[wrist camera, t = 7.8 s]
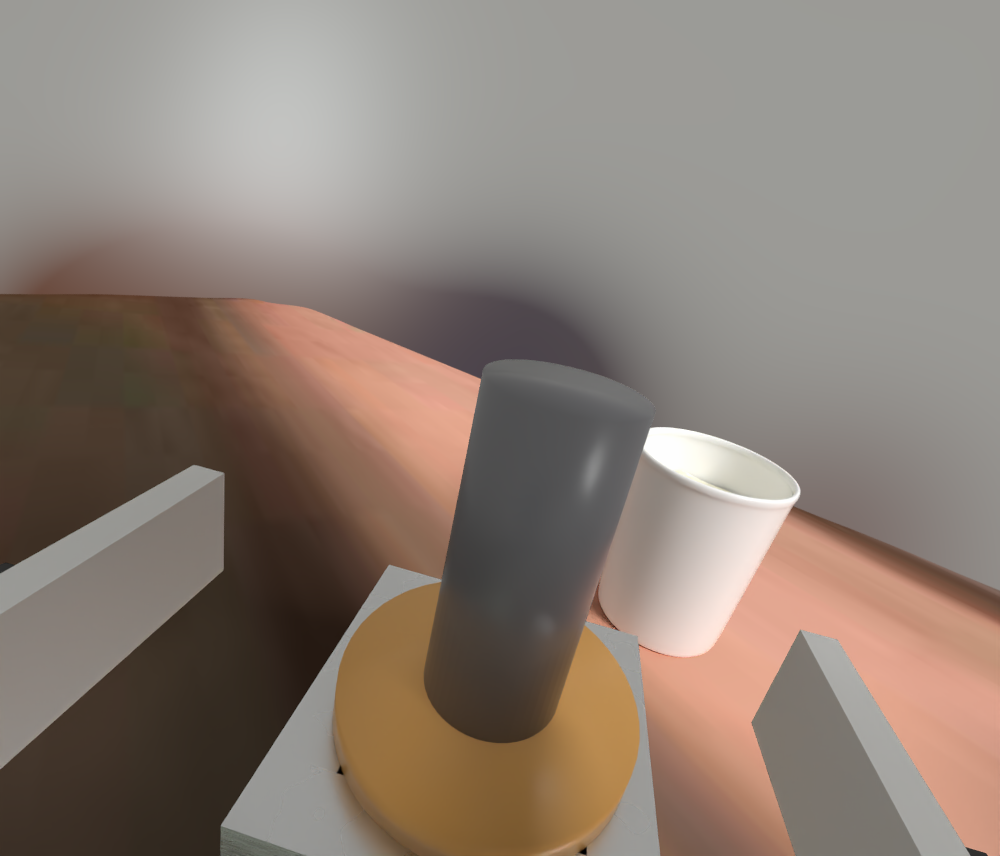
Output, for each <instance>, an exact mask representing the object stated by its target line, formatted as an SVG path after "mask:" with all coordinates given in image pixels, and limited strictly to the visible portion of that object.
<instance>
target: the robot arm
mask: <svg viewBox="0 0 1000 856" xmlns="http://www.w3.org/2000/svg"><path fill="white" fill-rule="evenodd" d="M223 570H224V473H222V472H218V471H215V470H211V469H207V468H204V467H200V466H196V465H193V466H191V467H189V468H188V469H186V470H184V471H182V472H180V473H179V474H177V475H175V476H173V477H172V478H170V479H168V480H166V481H164V482H163V483H161V484H159V485H157V486H155V487H154V488H152V489H150V490H148V491H147V492H145V493H143V494H141V495H139V496H138V497H136V498H134V499H132V500H131V501H129V502H127V503H125V504H123V505H122V506H120V507H118V508H116V509H114V510H113V511H111V512H109V513H107V514H106V515H104V516H102V517H100V518H98V519H97V520H95V521H93V522H91V523H90V524H88V525H86V526H84V527H82V528H81V529H79V530H77V531H75V532H74V533H72V534H70V535H68V536H66V537H65V538H63V539H61V540H59V541H57V542H56V543H54V544H52V545H50V546H49V547H47V548H45V549H43V550H41V551H40V552H38V553H36V554H34V555H33V556H31V557H29V558H27V559H25V560H24V561H22V562H20V563H18V564H16V565H12V564H9V563H4V564H1V565H0V769H1V768H2V767H3V766H4V765H6V764H7V763H8V762H9V761H10V760H11V759H12V758H13V757H15V756H16V755H17V754H18V753H19V752H20V751H21V750H22V749H23V748H25V747H26V746H27V745H28V744H29V743H30V742H31V741H32V740H34V739H35V738H36V737H37V736H38V735H39V734H40V733H41V732H43V731H44V730H45V729H46V728H47V727H48V726H49V725H50V724H52V723H53V722H54V721H55V720H56V719H57V718H58V717H59V716H60V715H62V714H63V713H64V712H65V711H66V710H67V709H68V708H69V707H71V706H72V705H73V704H74V703H75V702H76V701H77V700H78V699H80V698H81V697H82V696H83V695H84V694H85V693H86V692H87V691H89V690H90V689H91V688H92V687H93V686H94V685H95V684H96V683H97V682H99V681H100V680H101V679H102V678H103V677H104V676H105V675H106V674H108V673H109V672H110V671H111V670H112V669H113V668H114V667H115V666H117V665H118V664H119V663H120V662H121V661H122V660H123V659H124V658H126V657H127V656H128V655H129V654H130V653H131V652H132V651H133V650H134V649H136V648H137V647H138V646H139V645H140V644H141V643H142V642H143V641H145V640H146V639H147V638H148V637H149V636H150V635H151V634H152V633H154V632H155V631H156V630H157V629H158V628H159V627H160V626H161V625H163V624H164V623H165V622H166V621H167V620H168V619H169V618H170V617H172V616H173V615H174V614H175V613H176V612H177V611H178V610H179V609H180V608H182V607H183V606H184V605H185V604H186V603H187V602H188V601H189V600H191V599H192V598H193V597H194V596H195V595H196V594H197V593H198V592H200V591H201V590H202V589H203V588H204V587H205V586H206V585H207V584H209V583H210V582H211V581H212V580H213V579H214V578H215V577H216V576H217V575H219V574H220V573H221V572H222V571H223ZM751 723H752V726H753V729H754V732H755V735H756V738H757V741H758V744H759V747H760V750H761V753H762V756H763V759H764V762H765V765H766V768H767V771H768V774H769V777H770V780H771V783H772V786H773V789H774V792H775V795H776V798H777V801H778V804H779V807H780V810H781V813H782V816H783V819H784V822H785V825H786V828H787V831H788V834H789V837H790V840H791V843H792V846H793V849H794V852H795V855H796V856H988V855H987V854H986V853H983V852H980V851H977V850H973V849H970V848H967V847H965V846H964V844H963V843H962V841H961V839H960V838H959V836H958V835H957V833H956V831H955V830H954V828H953V826H952V825H951V823H950V822H949V820H948V818H947V817H946V815H945V813H944V812H943V810H942V809H941V807H940V805H939V804H938V802H937V800H936V799H935V797H934V796H933V794H932V792H931V791H930V789H929V787H928V786H927V784H926V783H925V781H924V779H923V778H922V776H921V775H920V773H919V771H918V770H917V768H916V766H915V765H914V763H913V762H912V760H911V758H910V757H909V755H908V753H907V752H906V750H905V749H904V747H903V745H902V744H901V742H900V740H899V739H898V737H897V736H896V734H895V732H894V731H893V729H892V727H891V726H890V724H889V723H888V721H887V719H886V718H885V716H884V714H883V713H882V711H881V710H880V708H879V706H878V705H877V703H876V701H875V700H874V698H873V697H872V695H871V693H870V692H869V690H868V688H867V687H866V685H865V684H864V682H863V680H862V679H861V677H860V676H859V674H858V672H857V671H856V669H855V667H854V666H853V664H852V663H851V661H850V659H849V658H848V656H847V654H846V653H845V651H844V650H843V648H842V646H841V645H840V643H839V641H838V640H836V639H833V638H829V637H825V636H822V635H818V634H814V633H811V632H807V631H803V630H800V631H799V633H798V635H797V637H796V639H795V641H794V643H793V645H792V646H791V648H790V650H789V652H788V654H787V656H786V658H785V660H784V662H783V664H782V665H781V667H780V669H779V671H778V673H777V675H776V677H775V679H774V681H773V683H772V684H771V686H770V688H769V690H768V692H767V694H766V696H765V698H764V700H763V702H762V703H761V705H760V707H759V709H758V711H757V713H756V715H755V717H754V719H753V720H752V722H751Z"/></svg>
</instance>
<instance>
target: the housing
mask: <svg viewBox="0 0 1000 856" xmlns="http://www.w3.org/2000/svg"><path fill="white" fill-rule="evenodd" d="M441 581H442V580H441V579H437V578H434V577H430V576H427V575H423V574H420V573H416V572H413V571H409V570H406V569H402V568H399V567H395V566H392V565H389V566H388V567H387V569H386V570H385V572H384V573H383V575H382V577H381V578H380V580H379V581H378V583H377V584H376V586H375V587H374V589H373V590H372V592H371V594H370V595H369V597H368V598H367V600H366V601H365V603H364V604H363V606H362V608H361V609H360V611H359V612H358V614H357V615H356V617H355V618H354V620H353V621H352V623H351V625H350V626H349V628H348V629H347V631H346V632H345V634H344V635H343V637H342V639H341V640H340V642H339V643H338V645H337V646H336V648H335V649H334V651H333V652H332V654H331V656H330V657H329V659H328V660H327V662H326V663H325V665H324V666H323V668H322V670H321V671H320V673H319V674H318V676H317V677H316V679H315V680H314V682H313V683H312V685H311V687H310V688H309V690H308V691H307V693H306V694H305V696H304V697H303V699H302V701H301V702H300V704H299V705H298V707H297V708H296V710H295V711H294V713H293V714H292V716H291V718H290V719H289V721H288V722H287V724H286V725H285V727H284V728H283V730H282V732H281V733H280V735H279V736H278V738H277V739H276V741H275V742H274V744H273V745H272V747H271V749H270V750H269V752H268V753H267V755H266V756H265V758H264V759H263V761H262V763H261V764H260V766H259V767H258V769H257V770H256V772H255V773H254V775H253V776H252V778H251V780H250V781H249V783H248V784H247V786H246V787H245V789H244V790H243V792H242V794H241V795H240V797H239V798H238V800H237V801H236V803H235V804H234V806H233V807H232V809H231V811H230V812H229V814H228V815H227V817H226V818H225V820H224V821H223V823H222V825H221V846H220V856H419V855H417V854H415V853H414V852H412V851H411V850H409V849H407V848H406V847H404V846H402V845H401V844H399V843H398V842H397V841H396V840H394V839H393V838H392V837H391V836H390V835H388V834H387V833H386V832H385V831H384V830H382V829H381V828H380V827H379V826H378V825H377V824H376V822H375V821H374V820H373V819H372V818H371V817H370V816H369V815H368V814H367V812H366V811H365V810H364V809H363V807H362V806H361V804H360V803H359V801H358V800H357V798H356V797H355V795H354V794H353V792H352V791H351V789H350V787H349V785H348V783H347V781H346V778H345V776H344V774H343V772H342V770H341V766H340V763H339V760H338V756H337V753H336V749H335V742H334V735H333V709H334V700H335V692H336V683H337V677H338V671H339V666H340V663H341V660H342V657H343V654H344V651H345V649H346V647H347V645H348V643H349V641H350V639H351V637H352V636H353V634H354V633H355V632H356V630H357V629H358V627H359V626H360V625H361V623H362V622H363V621H364V620H365V619H366V618H367V617H368V616H369V615H370V614H371V613H372V612H374V611H375V610H376V609H377V608H379V607H380V606H381V605H383V604H384V603H386V602H387V601H389V600H391V599H392V598H394V597H396V596H398V595H400V594H402V593H404V592H407V591H409V590H411V589H414V588H418V587H421V586H424V585H428V584H433V583H438V582H441ZM585 626H586V627H587V628H589V629H590V630H591V631H592V632H593V633H594V634H595V635H596V636H597V637H598V638H599V639H600V640H601V641H602V643H603V644H604V645H605V646H606V647H607V648H608V650H609V651H610V652H611V654H612V655H613V656H614V658H615V659H616V660H617V662H618V664H619V666H620V667H621V669H622V671H623V672H624V674H625V676H626V678H627V681H628V683H629V685H630V687H631V690H632V692H633V696H634V699H635V702H636V706H637V711H638V717H639V725H640V742H639V749H638V756H637V760H636V763H635V767H634V770H633V773H632V776H631V778H630V780H629V783H628V785H627V787H626V790H625V792H624V794H623V796H622V799H621V801H620V803H619V805H618V807H617V809H616V811H615V813H614V815H613V817H612V818H611V820H610V822H609V823H608V824H607V826H606V827H605V828H604V829H603V831H602V832H601V833H600V835H599V836H598V837H597V838H596V839H595V840H593V841H592V842H591V843H590V844H589V845H588V846H587V847H586V848H585V849H583V850H582V851H581V852H579V853H577V854H576V855H574V856H660V849H659V839H658V830H657V820H656V810H655V800H654V791H653V781H652V771H651V761H650V752H649V742H648V732H647V723H646V713H645V703H644V693H643V684H642V674H641V664H640V654H639V645H638V636H635V635H632V634H628V633H625V632H621V631H618V630H614V629H611V628H608V627H604V626H601V625H597V624H594V623H590V622H587V621H586V622H585Z"/></svg>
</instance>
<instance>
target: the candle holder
mask: <svg viewBox="0 0 1000 856" xmlns="http://www.w3.org/2000/svg"><path fill="white" fill-rule="evenodd" d="M799 496H800V488H799V485H798V483H797V482H796V481H795V479H794V478H793V477H792V476H791V475H790V474H788V473H787V472H786V471H785V470H784V469H782V468H781V467H779V466H778V465H777V464H775V463H773V462H772V461H770V460H768V459H766V458H765V457H763V456H761V455H759V454H757V453H755V452H753V451H751V450H749V449H746V448H744V447H742V446H739V445H737V444H734V443H731V442H729V441H726V440H723V439H720V438H717V437H714V436H710V435H707V434H703V433H699V432H695V431H690V430H685V429H677V428H668V427H655V428H650V430H649V433H648V436H647V439H646V442H645V445H644V448H643V451H642V454H641V457H640V460H639V463H638V466H637V469H636V472H635V475H634V478H633V481H632V484H631V487H630V490H629V493H628V496H627V499H626V502H625V505H624V508H623V511H622V514H621V517H620V520H619V523H618V526H617V529H616V532H615V535H614V538H613V541H612V544H611V547H610V550H609V553H608V556H607V559H606V562H605V565H604V568H603V571H602V574H601V579H600V583H599V589H598V597H599V602H600V605H601V608H602V610H603V612H604V613H605V615H606V616H607V618H608V619H609V620H610V622H611V623H612V624H613V625H614V626H615V627H616V628H617V629H618V630H619V631H621V632H625V633H628V634H632V635H635V636H638V644H639V645H641V646H643V647H645V648H647V649H650V650H652V651H655V652H658V653H661V654H664V655H668V656H674V657H695V656H699V655H702V654H704V653H706V652H707V651H709V650H710V649H711V648H712V647H713V646H714V644H715V643H716V642H717V640H718V638H719V637H720V635H721V633H722V632H723V630H724V628H725V627H726V625H727V623H728V621H729V619H730V618H731V616H732V614H733V612H734V611H735V609H736V607H737V605H738V603H739V602H740V600H741V598H742V596H743V594H744V593H745V591H746V589H747V587H748V586H749V584H750V582H751V580H752V578H753V577H754V575H755V573H756V571H757V569H758V568H759V566H760V564H761V562H762V560H763V559H764V557H765V555H766V553H767V551H768V550H769V548H770V546H771V544H772V542H773V541H774V539H775V537H776V535H777V533H778V532H779V530H780V528H781V526H782V524H783V523H784V521H785V519H786V517H787V515H788V514H789V512H790V510H791V508H792V507H793V505H794V504H795V503H796V502H797V500H798V499H799Z"/></svg>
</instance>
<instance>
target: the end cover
mask: <svg viewBox="0 0 1000 856" xmlns="http://www.w3.org/2000/svg"><path fill="white" fill-rule="evenodd" d="M655 411H656V410H655V407H654V405H653V404H652V403H651V402H650V401H649V400H648V399H647V398H646V397H644V396H643V395H642V394H640V393H638V392H637V391H635V390H633V389H631V388H629V387H627V386H625V385H623V384H621V383H619V382H616V381H614V380H611V379H609V378H606V377H603V376H600V375H597V374H594V373H591V372H587V371H584V370H580V369H576V368H572V367H568V366H564V365H558V364H553V363H547V362H541V361H532V360H501V361H495V362H492V363H489V364H487V365H486V366H485V367H484V369H483V374H482V378H481V383H480V389H479V394H478V399H477V404H476V409H475V414H474V419H473V424H472V429H471V434H470V439H469V444H468V449H467V454H466V459H465V464H464V470H463V475H462V480H461V485H460V490H459V495H458V500H457V505H456V510H455V515H454V520H453V525H452V530H451V535H450V540H449V545H448V551H447V556H446V561H445V566H444V571H443V576H442V581H441V582H438V583H433V584H428V585H424V586H421V587H418V588H414V589H411V590H409V591H407V592H404V593H402V594H400V595H398V596H396V597H394V598H392V599H391V600H389V601H387V602H386V603H384V604H383V605H381V606H380V607H379V608H377V609H376V610H375V611H374V612H372V613H371V614H370V615H369V616H368V617H367V618H366V619H365V620H364V621H363V622H362V623H361V625H360V626H359V627H358V629H357V630H356V632H355V633H354V634H353V636H352V637H351V639H350V641H349V643H348V645H347V647H346V649H345V651H344V654H343V657H342V660H341V663H340V666H339V671H338V677H337V683H336V692H335V700H334V709H333V735H334V742H335V749H336V753H337V756H338V760H339V763H340V766H341V770H342V772H343V774H344V776H345V778H346V781H347V783H348V785H349V787H350V789H351V791H352V792H353V794H354V795H355V797H356V798H357V800H358V801H359V803H360V804H361V806H362V807H363V809H364V810H365V811H366V812H367V814H368V815H369V816H370V817H371V818H372V819H373V820H374V821H375V822H376V824H377V825H378V826H379V827H380V828H381V829H382V830H384V831H385V832H386V833H387V834H388V835H390V836H391V837H392V838H393V839H394V840H396V841H397V842H398V843H399V844H401V845H402V846H404V847H406V848H407V849H409V850H411V851H412V852H414V853H415V854H417V855H419V856H574V855H576V854H577V853H579V852H581V851H582V850H583V849H585V848H586V847H587V846H588V845H589V844H590V843H591V842H592V841H593V840H595V839H596V838H597V837H598V836H599V835H600V833H601V832H602V831H603V829H604V828H605V827H606V826H607V824H608V823H609V822H610V820H611V818H612V817H613V815H614V813H615V811H616V809H617V807H618V805H619V803H620V801H621V799H622V796H623V794H624V792H625V790H626V787H627V785H628V783H629V780H630V778H631V776H632V773H633V770H634V767H635V763H636V760H637V756H638V749H639V742H640V725H639V717H638V711H637V706H636V702H635V699H634V696H633V692H632V690H631V687H630V685H629V683H628V681H627V678H626V676H625V674H624V672H623V671H622V669H621V667H620V666H619V664H618V662H617V660H616V659H615V658H614V656H613V655H612V654H611V652H610V651H609V650H608V648H607V647H606V646H605V645H604V644H603V643H602V641H601V640H600V639H599V638H598V637H597V636H596V635H595V634H594V633H593V632H592V631H591V630H590V629H589V628H587V627H586V626H585V622H586V619H587V616H588V613H589V610H590V607H591V604H592V601H593V598H594V595H595V592H596V589H597V586H598V583H599V580H600V577H601V574H602V571H603V568H604V565H605V562H606V559H607V556H608V553H609V550H610V547H611V544H612V541H613V538H614V535H615V532H616V529H617V526H618V523H619V520H620V517H621V514H622V511H623V508H624V505H625V502H626V499H627V496H628V493H629V490H630V487H631V484H632V481H633V478H634V475H635V472H636V469H637V466H638V463H639V460H640V457H641V454H642V451H643V448H644V445H645V442H646V439H647V436H648V433H649V430H650V427H651V424H652V421H653V418H654V415H655Z"/></svg>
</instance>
